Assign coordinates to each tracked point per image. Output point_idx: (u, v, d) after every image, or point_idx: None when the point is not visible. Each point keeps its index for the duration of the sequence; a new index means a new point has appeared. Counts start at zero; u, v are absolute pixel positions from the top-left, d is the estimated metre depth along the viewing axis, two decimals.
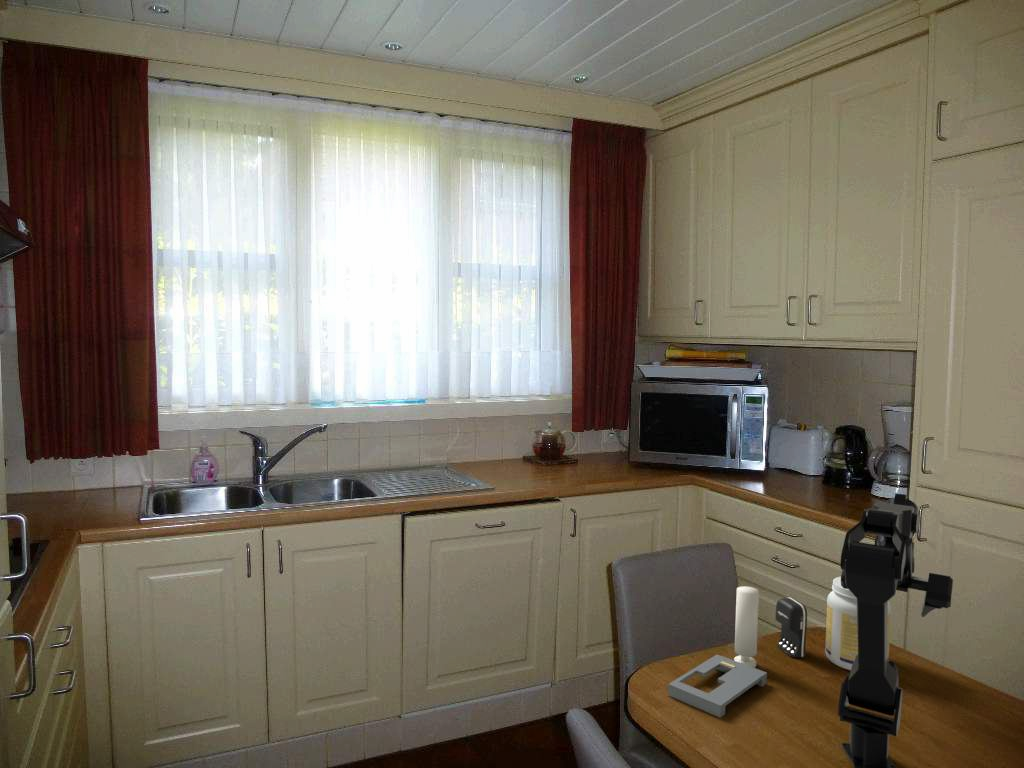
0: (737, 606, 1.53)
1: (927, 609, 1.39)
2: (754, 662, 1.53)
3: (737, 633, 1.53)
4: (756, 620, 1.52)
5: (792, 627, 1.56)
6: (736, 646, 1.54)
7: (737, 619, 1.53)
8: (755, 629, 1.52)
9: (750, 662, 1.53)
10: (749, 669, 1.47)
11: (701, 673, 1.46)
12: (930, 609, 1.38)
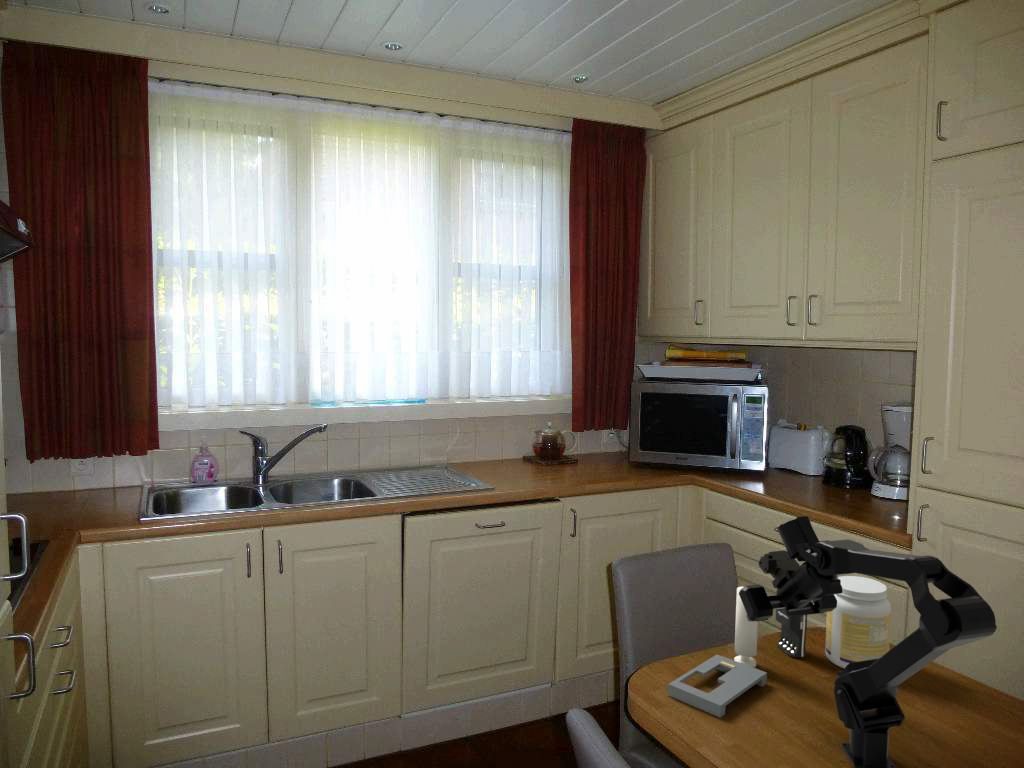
0: (737, 606, 1.53)
1: (809, 614, 1.43)
2: (754, 662, 1.53)
3: (737, 633, 1.53)
4: None
5: (792, 627, 1.56)
6: (736, 646, 1.54)
7: (737, 619, 1.53)
8: (755, 629, 1.52)
9: (750, 662, 1.53)
10: (749, 669, 1.47)
11: (701, 673, 1.46)
12: None
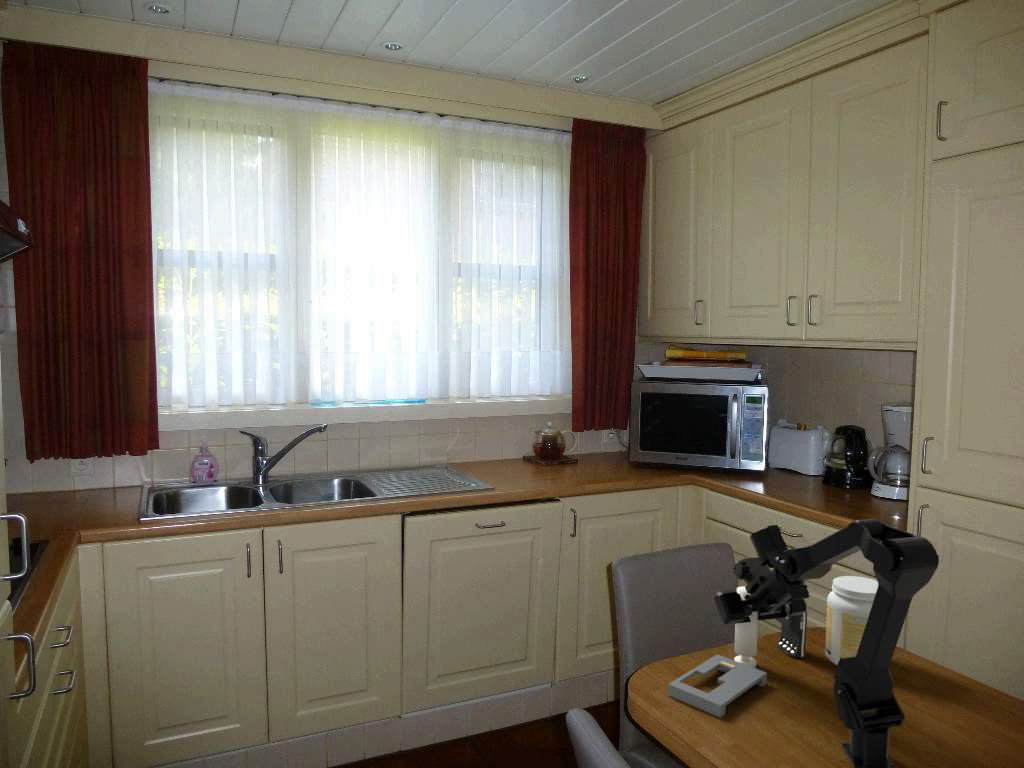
0: None
1: None
2: (754, 662, 1.53)
3: (737, 633, 1.53)
4: (756, 620, 1.52)
5: (792, 627, 1.56)
6: (736, 646, 1.54)
7: None
8: (755, 629, 1.52)
9: (750, 662, 1.53)
10: (749, 669, 1.47)
11: (701, 673, 1.46)
12: None
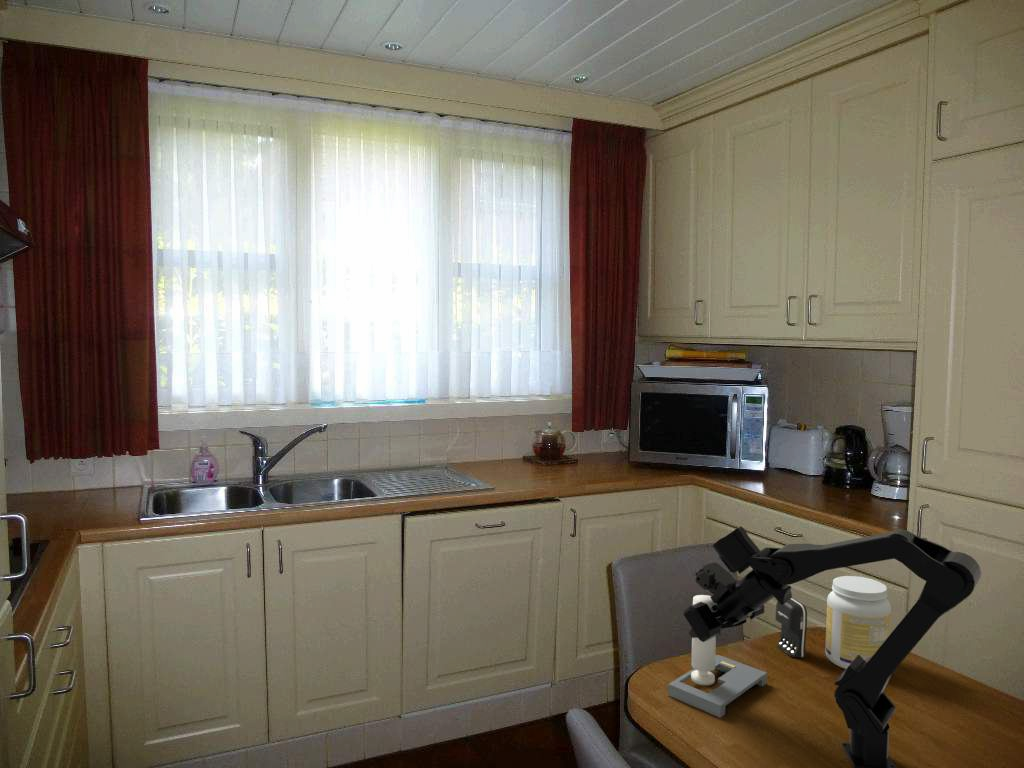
0: None
1: (731, 626, 1.40)
2: (713, 675, 1.42)
3: (697, 648, 1.40)
4: None
5: (792, 627, 1.56)
6: (696, 662, 1.40)
7: None
8: (715, 640, 1.40)
9: (709, 676, 1.41)
10: (749, 669, 1.47)
11: None
12: None
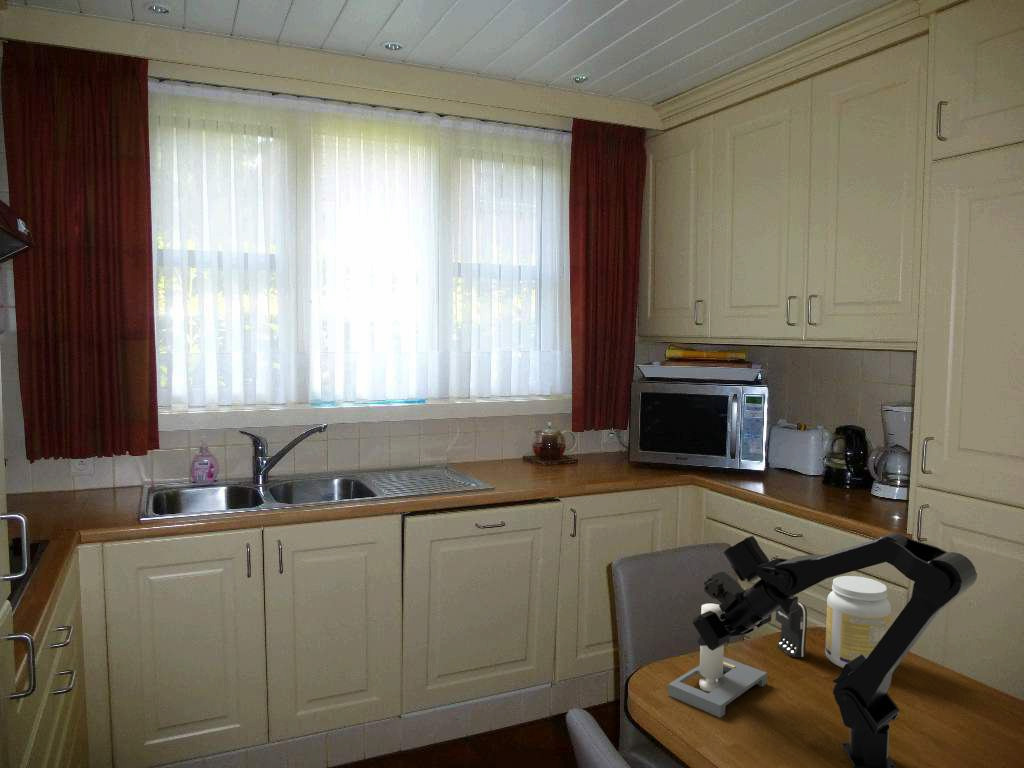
0: None
1: (739, 634, 1.43)
2: (720, 683, 1.44)
3: (705, 655, 1.43)
4: None
5: (792, 627, 1.56)
6: (704, 669, 1.43)
7: None
8: (723, 648, 1.43)
9: (717, 684, 1.44)
10: (749, 669, 1.47)
11: None
12: None
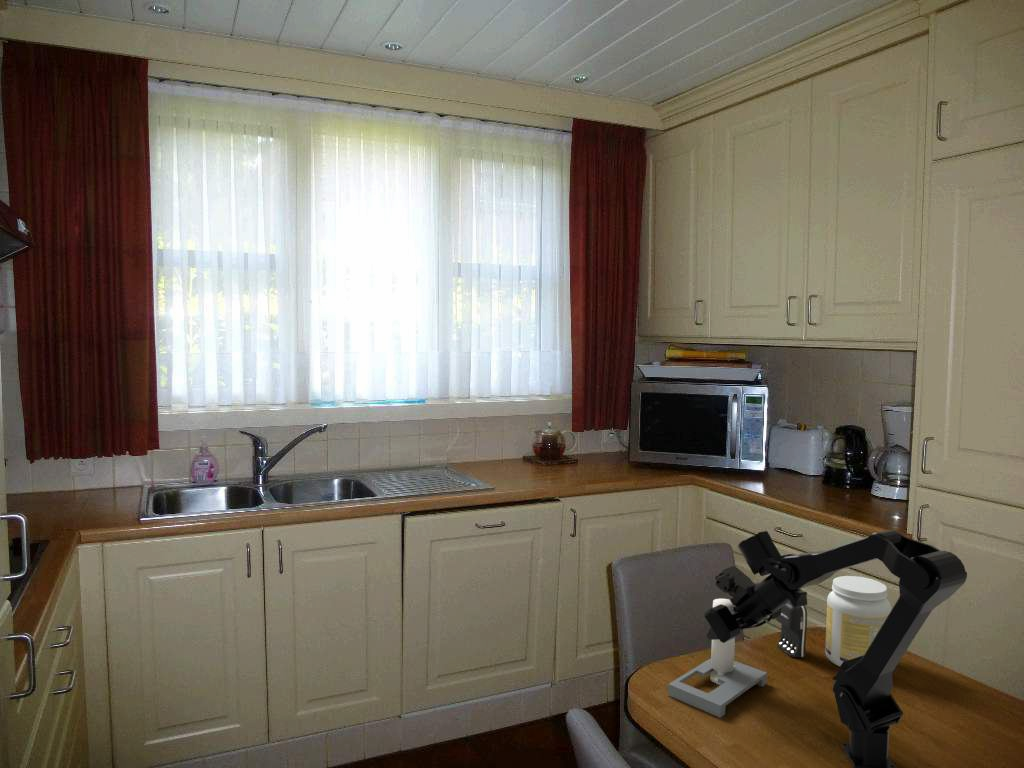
0: None
1: (751, 627, 1.46)
2: None
3: (717, 649, 1.46)
4: None
5: (792, 627, 1.56)
6: (715, 663, 1.46)
7: None
8: (734, 642, 1.46)
9: None
10: (749, 669, 1.47)
11: (701, 673, 1.46)
12: None
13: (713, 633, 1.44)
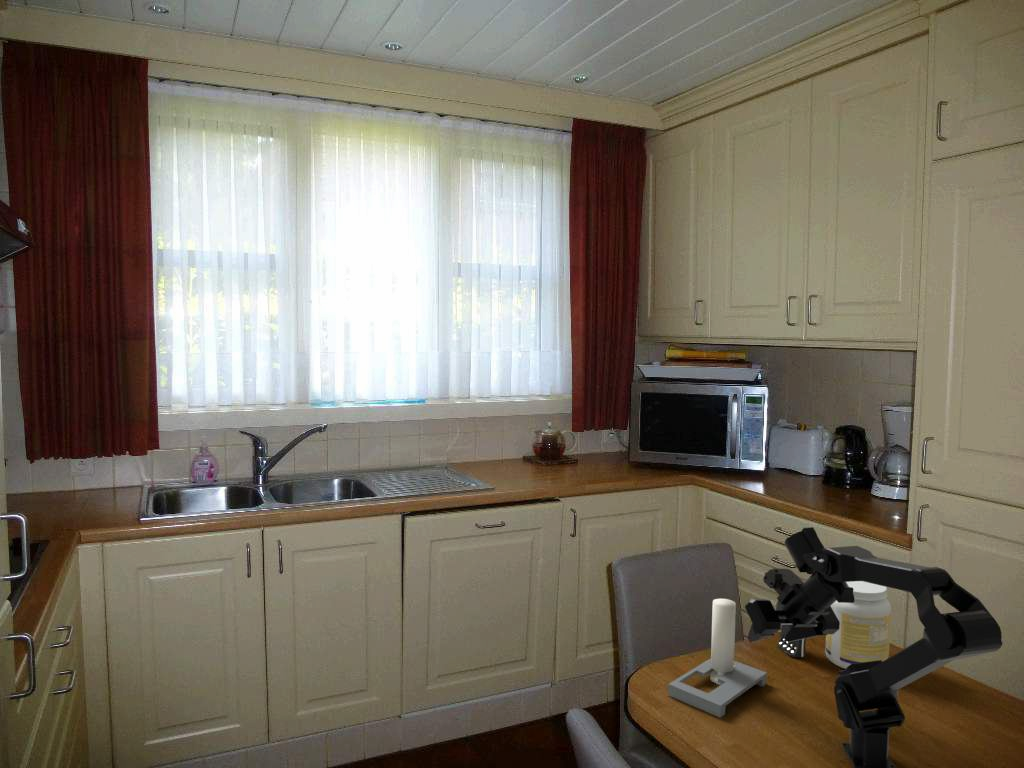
0: (716, 621, 1.45)
1: (810, 637, 1.40)
2: None
3: (716, 649, 1.45)
4: (734, 632, 1.46)
5: None
6: (715, 663, 1.46)
7: (715, 634, 1.45)
8: (734, 641, 1.46)
9: None
10: (749, 669, 1.47)
11: (701, 673, 1.46)
12: None
13: (752, 633, 1.38)
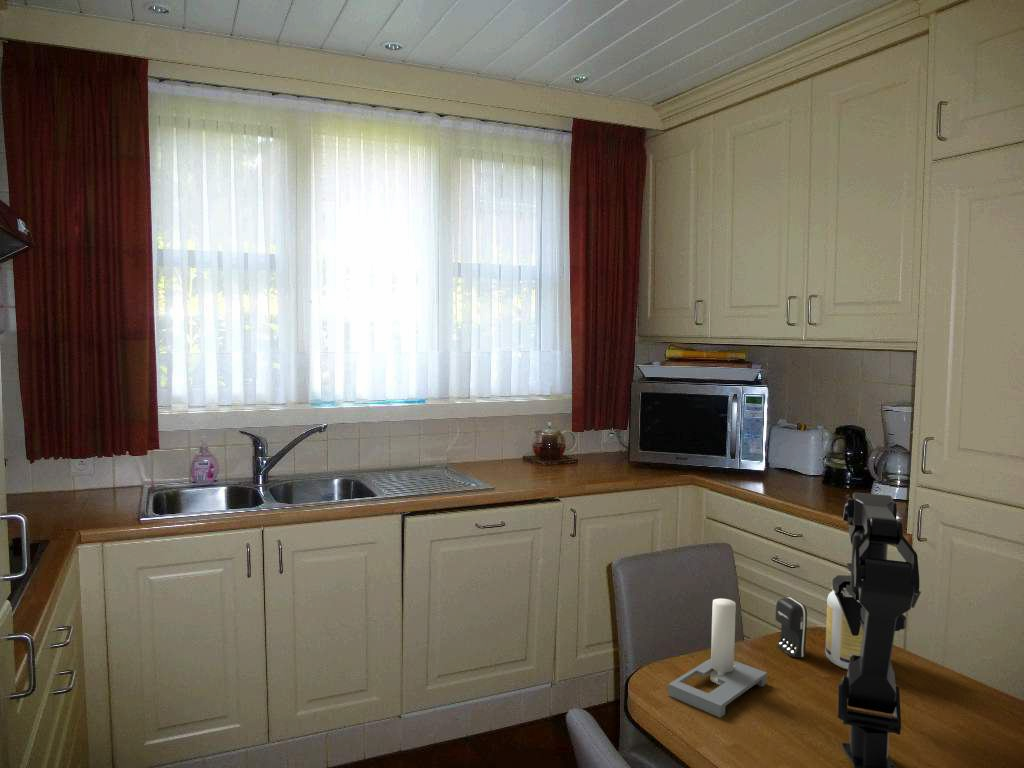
0: (716, 621, 1.45)
1: None
2: None
3: (716, 649, 1.46)
4: (734, 632, 1.46)
5: (792, 627, 1.56)
6: (715, 663, 1.46)
7: (715, 634, 1.46)
8: (733, 642, 1.46)
9: None
10: (749, 669, 1.47)
11: (701, 673, 1.46)
12: None
13: None
